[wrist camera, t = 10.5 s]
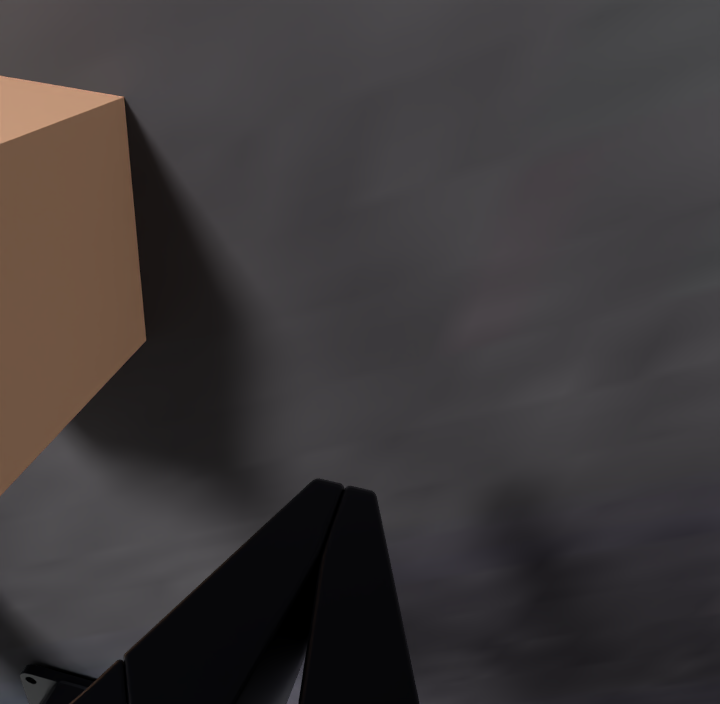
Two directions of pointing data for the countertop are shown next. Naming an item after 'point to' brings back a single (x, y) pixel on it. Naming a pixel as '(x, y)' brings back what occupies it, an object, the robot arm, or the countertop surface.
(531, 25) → the countertop surface
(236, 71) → the countertop surface
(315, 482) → the robot arm
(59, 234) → the doorstop block
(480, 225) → the countertop surface
